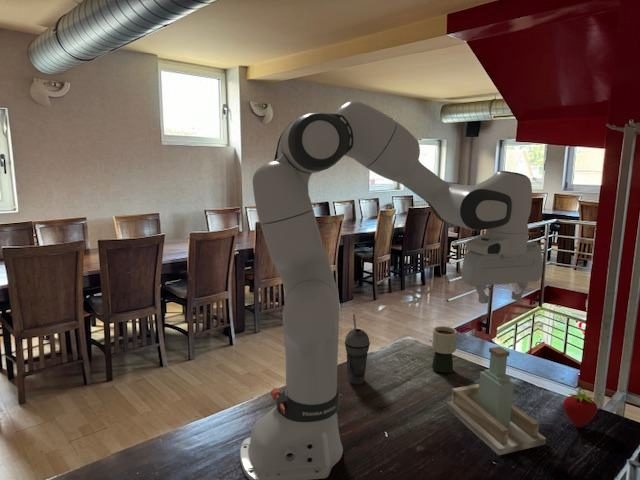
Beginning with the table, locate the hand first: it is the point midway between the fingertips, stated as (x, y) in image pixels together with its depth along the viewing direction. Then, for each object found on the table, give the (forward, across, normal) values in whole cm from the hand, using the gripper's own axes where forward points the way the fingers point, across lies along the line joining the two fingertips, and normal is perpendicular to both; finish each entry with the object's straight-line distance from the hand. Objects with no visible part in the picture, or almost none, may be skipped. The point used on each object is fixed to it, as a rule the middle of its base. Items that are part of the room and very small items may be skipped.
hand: (500, 301), depth 103 cm
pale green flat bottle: (+30, 0, +1) cm, 30 cm away
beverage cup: (+32, +23, -29) cm, 49 cm away
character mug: (+32, -5, -27) cm, 42 cm away
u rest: (+31, 0, +1) cm, 31 cm away
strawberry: (+32, -20, +8) cm, 38 cm away
